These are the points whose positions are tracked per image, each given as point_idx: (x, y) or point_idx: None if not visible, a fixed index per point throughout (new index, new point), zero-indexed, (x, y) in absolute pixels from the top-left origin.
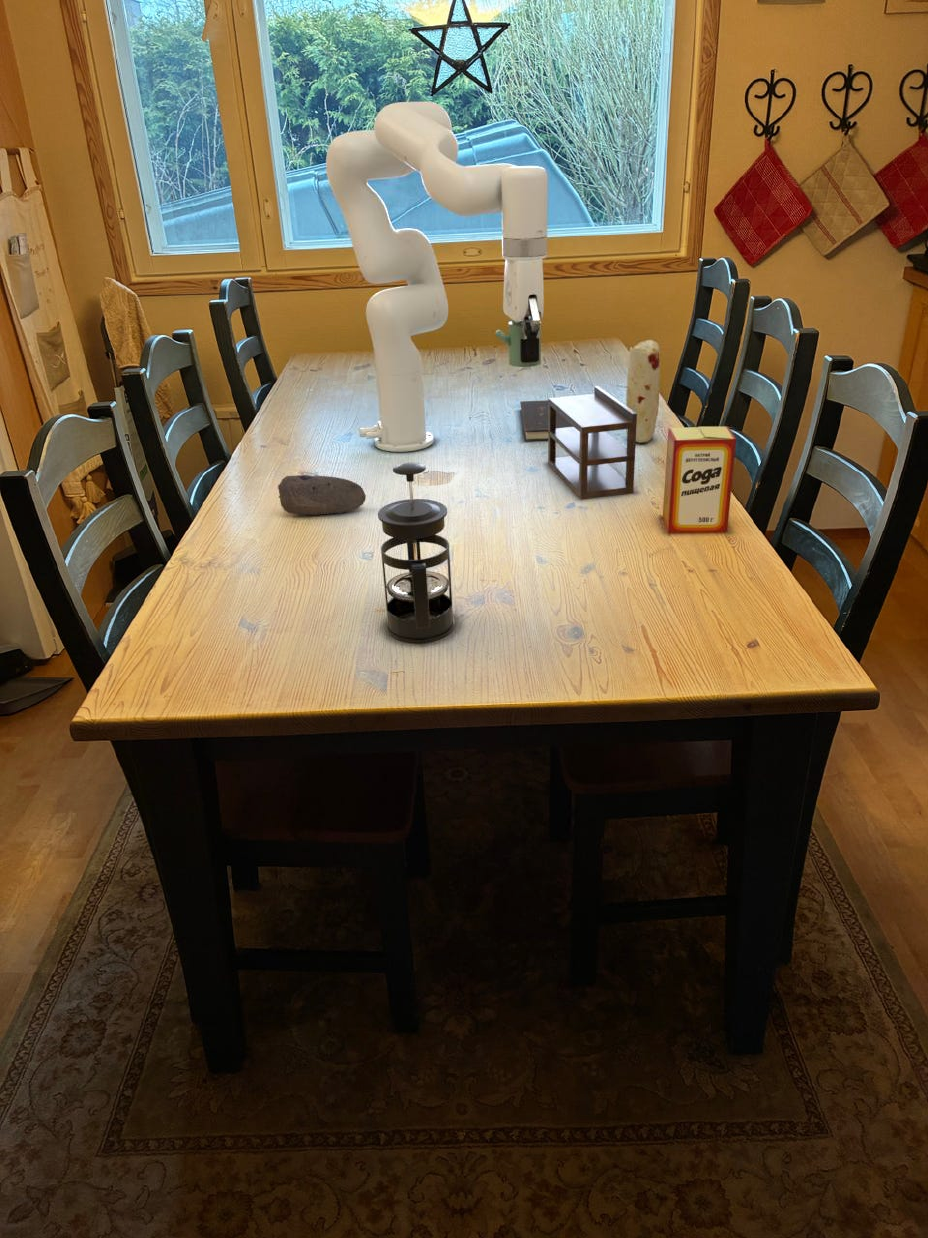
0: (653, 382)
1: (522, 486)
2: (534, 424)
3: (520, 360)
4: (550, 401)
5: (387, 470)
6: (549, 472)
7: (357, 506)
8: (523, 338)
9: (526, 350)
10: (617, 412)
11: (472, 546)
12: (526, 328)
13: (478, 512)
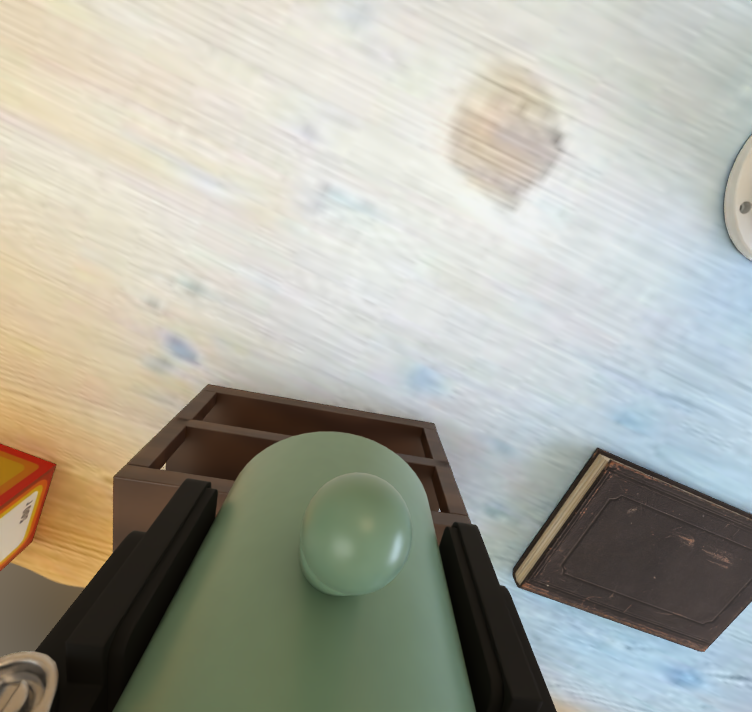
0: None
1: (336, 314)
2: (636, 498)
3: (233, 488)
4: (448, 522)
5: (642, 39)
6: (387, 403)
7: None
8: (38, 670)
9: (109, 570)
10: None
11: (11, 18)
12: None
13: (224, 140)
